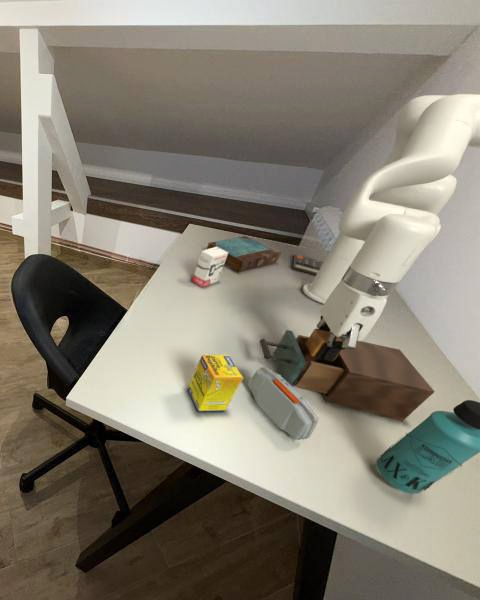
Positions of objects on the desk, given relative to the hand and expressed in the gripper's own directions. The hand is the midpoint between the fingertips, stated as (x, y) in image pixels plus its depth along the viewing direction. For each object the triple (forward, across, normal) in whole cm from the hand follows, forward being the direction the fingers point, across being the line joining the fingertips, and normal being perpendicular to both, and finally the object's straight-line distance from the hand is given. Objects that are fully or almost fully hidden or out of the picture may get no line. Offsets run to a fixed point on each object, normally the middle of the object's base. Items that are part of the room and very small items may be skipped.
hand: (319, 350), depth 69 cm
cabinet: (+9, 0, -10) cm, 14 cm away
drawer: (+8, 0, +2) cm, 8 cm away
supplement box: (+9, -16, +23) cm, 29 cm away
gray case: (+9, -14, +10) cm, 19 cm away
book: (+9, +66, +6) cm, 67 cm away
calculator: (+9, +71, -21) cm, 74 cm away
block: (0, 0, 0) cm, 0 cm away
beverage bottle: (+9, -22, -9) cm, 25 cm away
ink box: (+9, +39, +21) cm, 45 cm away
